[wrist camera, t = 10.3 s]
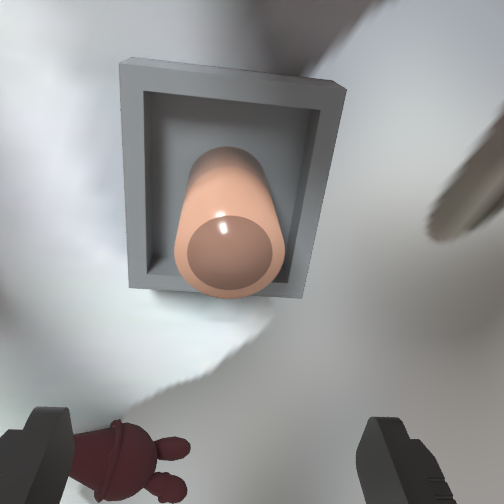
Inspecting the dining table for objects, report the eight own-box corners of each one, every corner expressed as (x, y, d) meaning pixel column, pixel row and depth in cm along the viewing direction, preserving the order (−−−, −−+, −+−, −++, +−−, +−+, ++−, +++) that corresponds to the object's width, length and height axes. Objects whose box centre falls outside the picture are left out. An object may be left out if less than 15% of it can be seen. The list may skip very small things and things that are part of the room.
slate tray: (132, 56, 24) (118, 63, 21) (332, 80, 25) (346, 89, 22) (138, 261, 31) (128, 288, 28) (294, 271, 32) (301, 298, 29)
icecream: (4, 504, 35) (172, 519, 40) (11, 480, 30) (200, 501, 35) (33, 422, 40) (179, 445, 45) (44, 390, 35) (205, 420, 40)
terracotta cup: (190, 141, 25) (176, 198, 17) (272, 151, 26) (294, 210, 18) (185, 217, 28) (171, 296, 20) (260, 224, 28) (275, 303, 21)
